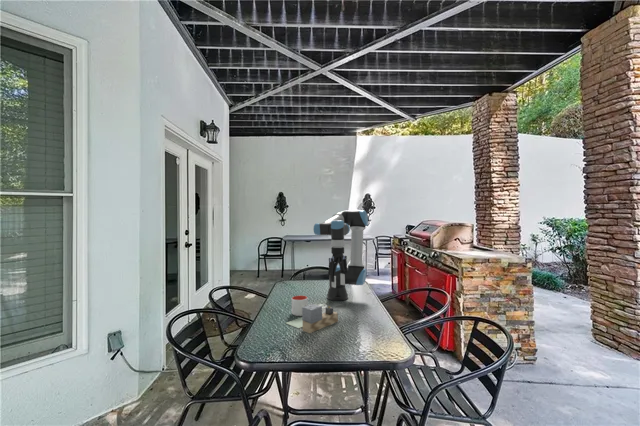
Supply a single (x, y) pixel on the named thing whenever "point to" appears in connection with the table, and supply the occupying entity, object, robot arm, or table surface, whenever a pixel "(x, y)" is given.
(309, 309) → the gray cube on plate
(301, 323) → the mat
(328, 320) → the long wooden block
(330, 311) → the latch
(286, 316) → the table surface
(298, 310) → the cup
